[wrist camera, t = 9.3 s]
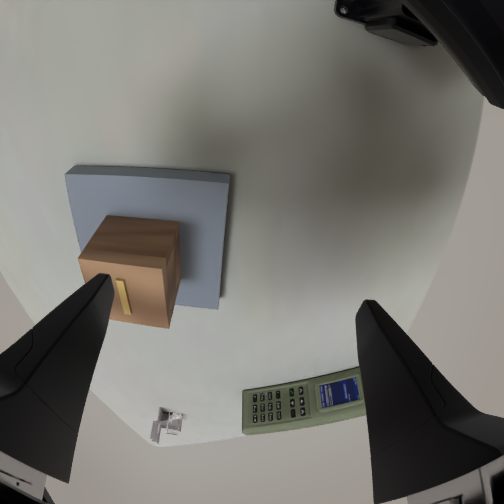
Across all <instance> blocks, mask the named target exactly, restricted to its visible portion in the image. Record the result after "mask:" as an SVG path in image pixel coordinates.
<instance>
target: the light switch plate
mask: <svg viewBox="0 0 504 504" xmlns="http://www.w3.org/2000/svg"><path fill="white" fill-rule="evenodd" d="M65 180H66V186H67V191H68V197H69V202H70V207H71V212H72V216H73V221H74V225H75V230H76V234H77V238H78V242H79V246H80V250H81V253H82V251H83V249H84V248H85V246H86V245H87V243H88V242H89V240H90V239H91V237H92V236H93V234H94V233H95V231H96V230H97V228H98V227H99V225H100V224H101V223H102V221H103V220H104V218H105V217H106V215H112V216H125V217H137V218H148V219H160V220H171V221H179V239H180V269H181V282H180V286H179V289H178V293H177V297H176V301H175V305H182V306H190V307H199V308H208V309H217V310H218V307H219V298H220V285H221V272H222V260H223V248H224V237H225V225H226V215H227V204H228V194H229V183H230V174H222V173H212V172H200V171H188V170H174V169H159V168H140V167H114V166H74V167H72V168H71V169H70V170H69V171H68V172H67V173H66V174H65Z"/></svg>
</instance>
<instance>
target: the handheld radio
mask: <svg viewBox="0 0 504 504" xmlns="http://www.w3.org/2000/svg"><path fill="white" fill-rule="evenodd" d="M365 415H366V408H365V400H364V393H363V386H362V379H361V373H360V367H358V368H354V369H350V370H346V371H342V372H338V373H334V374H329V375H325V376H321V377H316V378H312V379H307V380H302V381H297V382H292V383H286V384H281V385H275V386H269V387H263V388H257V389H250V390H243V392H242V433H243V434H245V435H254V434H265V433H273V432H281V431H288V430H295V429H301V428H308V427H314V426H319V425H324V424H329V423H334V422H339V421H344V420H348V419H352V418H356V417H360V416H365Z"/></svg>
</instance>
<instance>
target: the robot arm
mask: <svg viewBox="0 0 504 504" xmlns="http://www.w3.org/2000/svg"><path fill="white" fill-rule="evenodd" d="M341 7H343V8H345V9H346V14H343V13H341V11H340V8H341ZM334 12H335V14H336V15H337V16H338V17H341V18H344V19H348V20H351V21H355V22H358V23H361V24H364V25H365V28H366V29H367V30H368V31H369V32H372V33H375V34H378V35H381V36H384V37H387V38H389V39H392V40H395V41H397V42H400V43H403V44H416V45H421V46H435V45H437V44H438V41H439V42H440V43H441V44H442V45H443V47H444V48H445V49H446V50H447V51H448V53H449V54H450V55H451V56H452V58H453V59H454V60H455V61H456V63H457V64H458V65H459V66H460V68H461V69H462V70H463V72H464V73H465V74H466V76H467V77H468V79H469V80H470V81H471V83H472V84H473V86H474V87H475V88H476V89H477V90H478V91H479V92H480V93H481V94H482V95H483V96H485V97H486V98H487V100H488V101H489V103H490V104H492V105H494V106H497V107H499V108H502V109H504V0H336V1H335V7H334ZM114 295H115V291H114V287H113V283H112V279H111V276H110V275H109V274H105V273H98V274H97V275H96V276H94V277H93V278H92V279H90V280H89V281H88V282H87V283H85V284H84V285H83V286H82V287H80V288H79V289H78V290H77V291H75V292H74V293H73V294H72V295H70V296H69V297H68V298H67V299H66V300H64V301H63V302H62V303H61V304H60V305H58V306H57V307H56V308H55V309H54V310H52V311H51V312H50V313H49V314H48V315H46V316H45V317H44V318H43V319H42V320H41V321H39V322H38V323H37V324H36V325H35V326H34V327H33V329H30V330H29V331H28V332H27V333H26V334H25V335H23V336H22V337H21V338H20V339H19V340H18V341H17V342H15V343H14V344H13V345H11V346H10V347H9V348H8V349H6V350H5V351H4V352H2V353H1V354H0V504H55V503H54V502H53V500H52V499H51V497H50V495H49V493H48V492H47V490H46V489H45V487H44V486H45V481H46V476H47V475H49V476H51V477H53V478H56V479H58V480H60V481H63V482H66V483H69V479H70V473H71V467H72V462H73V456H74V451H75V446H76V441H77V437H78V434H77V433H78V431H79V427H80V423H81V418H82V414H83V410H84V406H85V402H86V398H87V395H88V391H89V387H90V384H91V380H92V377H93V373H94V370H95V366H96V363H97V360H98V357H99V353H100V350H101V347H102V344H103V341H104V338H105V334H106V330H107V326H108V322H109V317H110V313H111V308H112V304H113V300H114ZM355 321H356V335H357V351H358V360H359V367H360V373H361V379H362V386H363V393H364V400H365V408H366V416H367V424H368V433H369V442H370V453H371V466H372V480H373V498H374V504H380V503H384V502H388V501H392V500H396V499H399V498H403V497H406V496H407V500H408V504H504V418H501V417H497V416H493V415H488V414H484V413H482V412H480V411H478V410H477V409H476V408H474V407H473V406H472V405H471V404H470V403H469V402H468V401H467V400H466V399H465V398H464V397H463V396H462V395H461V394H460V393H459V392H458V391H457V390H456V389H455V388H454V387H453V386H452V385H451V384H450V383H449V381H448V380H447V379H446V378H445V377H444V376H443V375H442V374H441V373H440V372H439V370H438V369H437V368H436V367H435V366H434V365H432V362H431V361H430V360H429V359H428V358H427V357H426V355H424V353H423V352H422V351H421V350H420V349H419V347H418V346H417V345H416V344H415V343H414V342H413V341H412V340H411V338H410V337H409V336H408V335H407V334H406V333H405V332H404V331H403V330H402V328H401V327H400V326H399V325H398V324H397V323H396V322H395V321H394V320H393V319H392V318H391V316H390V315H389V314H388V313H387V312H386V311H385V310H384V309H383V308H382V307H381V306H380V305H379V304H378V303H377V302H376V301H375V300H364V301H363V303H362V305H361V306H360V308H359V310H358V312H357V314H356V319H355Z"/></svg>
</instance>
